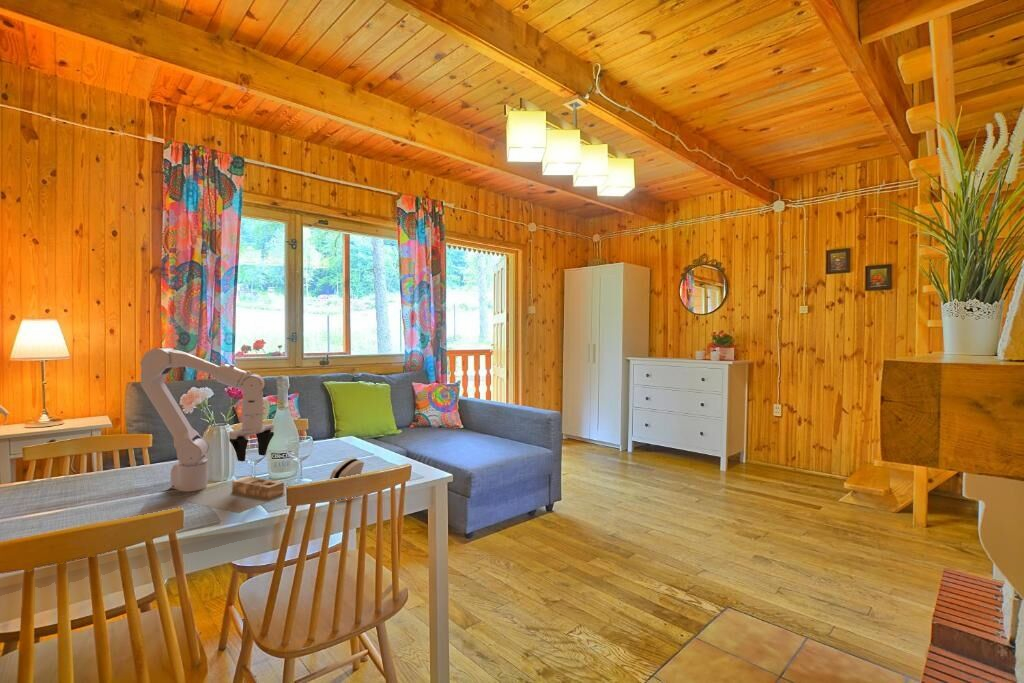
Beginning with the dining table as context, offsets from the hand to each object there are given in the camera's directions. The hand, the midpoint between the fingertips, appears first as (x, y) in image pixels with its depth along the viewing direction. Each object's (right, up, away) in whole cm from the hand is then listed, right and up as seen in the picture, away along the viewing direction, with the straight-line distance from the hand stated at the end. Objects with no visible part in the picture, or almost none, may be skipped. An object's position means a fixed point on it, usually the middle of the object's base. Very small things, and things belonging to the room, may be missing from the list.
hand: (251, 457), depth 153 cm
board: (+3, -10, -9) cm, 14 cm away
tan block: (+6, -8, -7) cm, 12 cm away
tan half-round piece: (+27, -11, +4) cm, 29 cm away
